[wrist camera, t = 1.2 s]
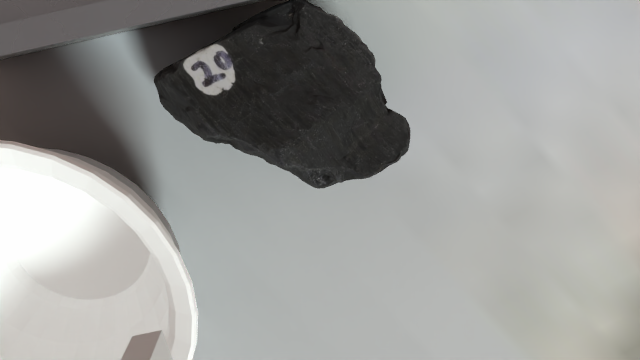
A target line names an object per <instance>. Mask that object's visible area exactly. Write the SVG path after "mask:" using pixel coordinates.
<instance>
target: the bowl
mask: <svg viewBox="0 0 640 360" xmlns="http://www.w3.org/2000/svg"><path fill="white" fill-rule="evenodd" d="M159 330H162V331H163V334H164V337H165V340H166V342H167V345H168V348H169V350H170V353H171V356H172V358H173V360H192V358H193V354H194V351H195V347H196V344H197V330H198V309H197V304H196V299H195V294H194V289H193V284H192V280H191V278H190V276H189V273H188V271H187V269H186V267H185V264H184V262H183V260H182V257H181V255H180V250H179V245H178V243H177V240H176V238H175V236H174V233H173V231H172V229H171V227H170V224H169V223H168V221H167V220H166V218H165V217H164V215H163V214H162V212H161V211H160V210H159V208H158V207H157V205H156V204H155V203H154V202H153V201H152V200H151V199H150V198H149V197H148V196H147V195H146V194H145V193H144V192H143V191H142V190H141V189H140V188H139V187H138V186H137V185H136V184H135V183H133V182H132V181H130V180H129V179H128V178H126V177H125V176H123V175H122V174H120V173H119V172H117V171H116V170H114V169H113V168H111V167H108V166H106V165H104V164H102V163H100V162H98V161H95V160H93V159H91V158H89V157H86V156H82V155H78V154H75V153H71V152H67V151H64V150H59V149H47V148H37V147H34V146H30V145H26V144H22V143H19V142H15V141H4V140H0V360H121V358H122V356H123V354H124V352H125V350H126V348H127V346H128V344H129V342H130V340H131V338H132V336H135V335H140V334H145V333H149V332H154V331H159Z"/></svg>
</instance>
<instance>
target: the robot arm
mask: <svg viewBox="0 0 640 360" xmlns="http://www.w3.org/2000/svg"><path fill="white" fill-rule="evenodd" d="M121 360H173V358H172V356H171V353H170V350H169V348H168V345H167V342H166V340H165V337H164V334H163V331H162V330H159V331H154V332H149V333H145V334H140V335H135V336H132V338H131V340H130V342H129V344H128V346H127V348H126V350H125V352H124V354H123V356H122V358H121Z"/></svg>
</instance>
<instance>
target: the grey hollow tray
mask: <svg viewBox="0 0 640 360" xmlns="http://www.w3.org/2000/svg"><path fill="white" fill-rule="evenodd" d="M260 1H264V0H0V59H5V58H9V57H14V56H18V55H23V54H27V53H31V52H36V51H40V50H45V49H49V48H54V47H58V46H63V45H67V44H72V43H76V42H81V41H85V40H90V39H94V38H99V37H103V36H108V35H112V34H117V33H121V32H125V31H130V30H134V29H139V28H143V27H148V26H152V25H157V24H161V23H166V22H170V21H175V20H179V19H184V18H188V17H193V16H197V15H202V14H206V13H211V12H215V11H219V10H224V9H228V8H233V7H237V6H242V5H246V4H251V3H255V2H260Z"/></svg>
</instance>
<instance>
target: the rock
mask: <svg viewBox="0 0 640 360" xmlns="http://www.w3.org/2000/svg"><path fill="white" fill-rule="evenodd" d="M154 83H155V85H156V87H157V90H158V94H159V98H160V102H161V104H162V105H163V107H164V108H165V109H166V110H167V111H168V112H169V113H170V114H171V115H172V116H173V117H174V118H175V119H176V120H178V121H179V122H181V123H183V124H184V125H185V126H186V127H187V128H189V129H190V130H191V131H192V132H193V133H194V134H196V135H198V136H200V137H201V138H202V139H203V140H205V141H210V142H214V143H224V144H230V145H232V146H233V147H234V148H235V149H238V150H240V151H242V152H244V153H247V154H250V155H254V156H258V157H260V158H263V159H264V160H265V161H266V162H268V163H270V164H273V165H276V166H278V167H280V168H282V169H284V170H287V171H290V172H291V173H292V174H294V175H296V176H297V177H299V178H300V179H301V180H302V181H304V182H306V183H307V184H309V185H311V186H312V187H315V188H325V187H328V186H331V185H334V184H336V183H338V182H340V183H341V182H343V181H346V180H351V179H364V178H369V177H371V176H373V175H375V174H377V173H379V172H381V171H383V170H384V169H385V168H386V167H388V166H389V165H391V164H394V163H396V162H397V161H398V160H399V159H400V158H401V156H403V155H404V154H405V153H406V152H407V151H408V148H409V142H410V127H409V124H408V122H407V120H406V118H405V117H403V116H402V115H400V114H398V113H396V112H394V111H392V110H391V109H388V108H387V107H386V106H385V104H386V103H387V101H386V99H385V96H384V94H383V91H382V89H381V75H380V74H379V72H378V71H377V70H376V68H375V58H374V55H373V53H372V52H371V51H370V50H369V49H368V47H367V45H365V44H364V43H363V42H362V41H361V39H360V37H359V36H358V35H357V34H356V33H355V32H353V31H352V30H350V29H349V28H348V27H346V26H345V25H344V24H343V22H342V20H341V19H339V18H338V17H337V16H335V15H331V14H327V13H326V12H324V11H323V10H322V9H321V8H320V7H318V6H315V5H313V4H311V3H309V2H308V1H306V0H291V1H287V2H285V3H281V4H278V5H275V6H273V7H272V8H270V9H268V10H265V11H263V12H261V13H259V14H257V15H255V16H253V17H251V18H250V19H248V20H246V21H245V22H244V23H242V24H240V25H238V26H236V27H235V28H234V29H233V32H231V33H230V34H228V35H226V36H225V37H223V38H221V39H220V40H218V41H216V42H214V43H212V44H210V45H208V46H206V47H204V48H202V49H200V50H198V51H197V52H195V53H193V54H191V55H190V56H188V57H186V58H184V59H182V60H180V61H178V62H176V63H174V64H172V65H170V66H168V67H166V68H164V69H163V70H161V71H160V72H159V73H158V74H157V75H156V76H155V78H154Z"/></svg>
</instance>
